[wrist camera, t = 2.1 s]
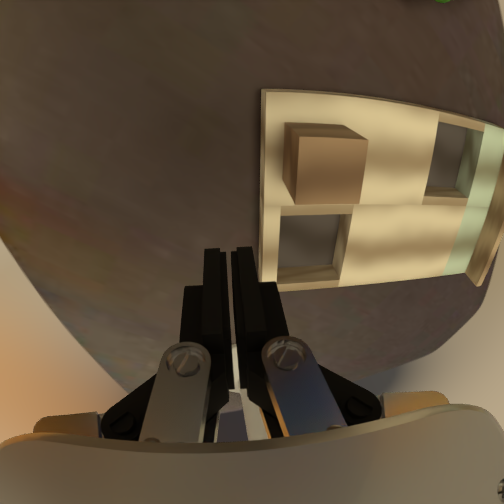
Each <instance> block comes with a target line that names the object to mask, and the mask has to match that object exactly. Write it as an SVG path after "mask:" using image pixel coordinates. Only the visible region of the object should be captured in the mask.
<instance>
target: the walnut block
mask: <svg viewBox="0 0 504 504" xmlns="http://www.w3.org/2000/svg"><path fill="white" fill-rule="evenodd" d="M368 142H369V140H368V139H366V138H364V137H363V136H361V135H360V134H358V133H356V132H355V131H353V130H351V129H350V128H348V127H346V126H345V125H339V124H323V123H298V122H285V124H284V150H283V174H282V180H283V182H284V184H285V186H286V188H287V190H288V192H289V194H290V196H291V198H292V200H293V202H294V204H295V205H324V204H359V203H360V197H361V191H362V185H363V178H364V171H365V164H366V157H367V150H368Z"/></svg>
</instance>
